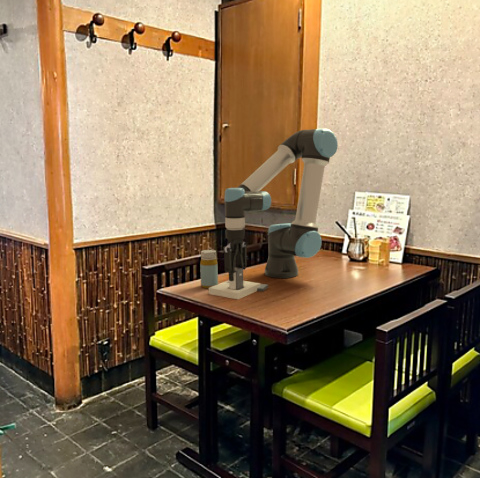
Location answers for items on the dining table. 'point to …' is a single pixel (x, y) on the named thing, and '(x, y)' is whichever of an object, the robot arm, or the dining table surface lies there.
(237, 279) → the block
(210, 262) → the bottle
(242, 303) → the dining table surface
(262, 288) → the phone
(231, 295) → the plate
